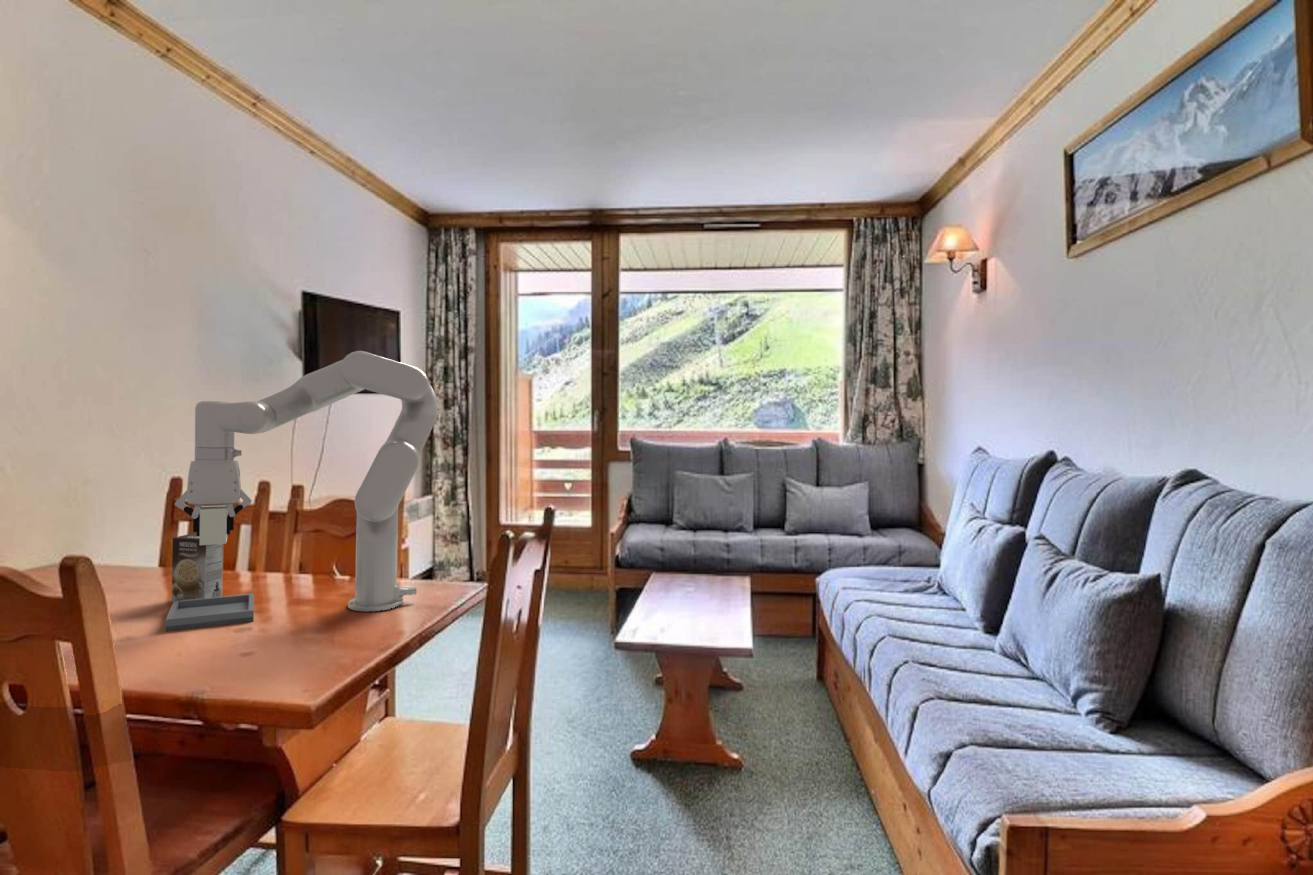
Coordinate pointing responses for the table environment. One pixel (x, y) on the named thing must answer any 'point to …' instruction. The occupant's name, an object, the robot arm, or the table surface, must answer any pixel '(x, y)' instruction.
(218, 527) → the sage block
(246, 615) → the tray
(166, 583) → the table surface
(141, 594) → the table surface
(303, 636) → the table surface
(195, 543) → the coffee box
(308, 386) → the robot arm
